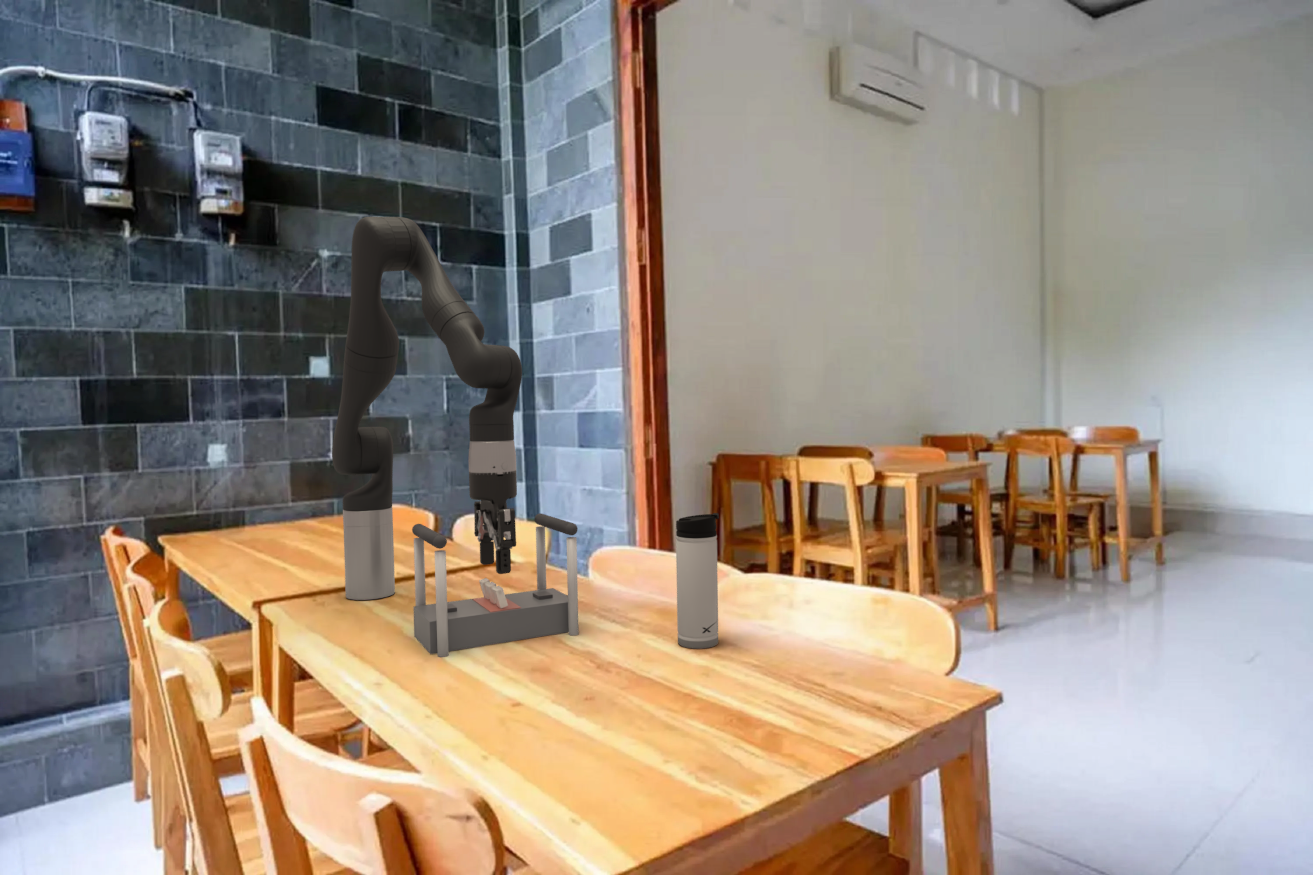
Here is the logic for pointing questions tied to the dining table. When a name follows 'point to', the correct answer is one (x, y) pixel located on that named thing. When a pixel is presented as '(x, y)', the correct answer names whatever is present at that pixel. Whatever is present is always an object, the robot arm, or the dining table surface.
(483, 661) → the dining table surface
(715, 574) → the travel mug
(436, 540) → the dark grey rounded rod
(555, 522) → the dark grey rod
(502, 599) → the breaker paddles
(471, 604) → the pdu
